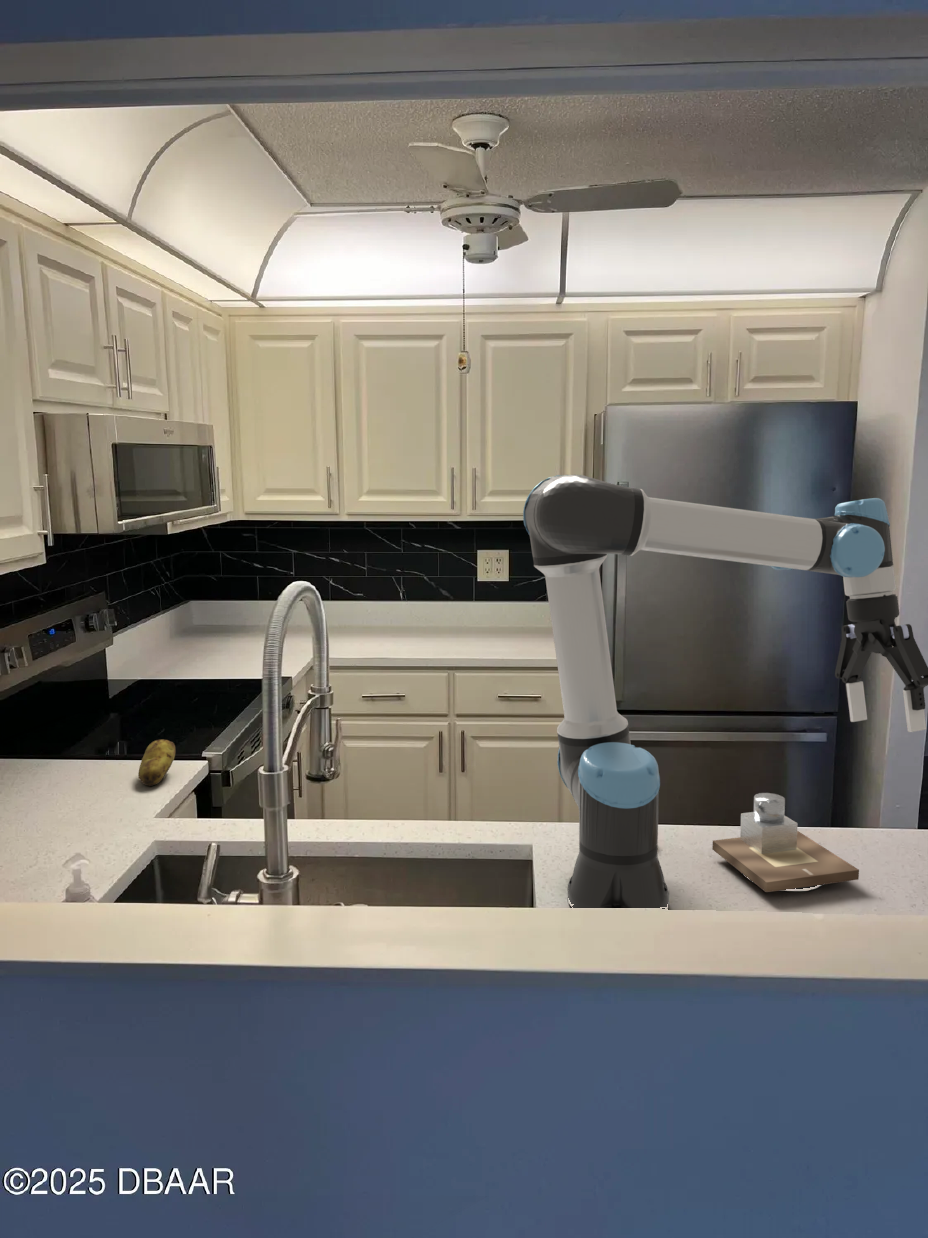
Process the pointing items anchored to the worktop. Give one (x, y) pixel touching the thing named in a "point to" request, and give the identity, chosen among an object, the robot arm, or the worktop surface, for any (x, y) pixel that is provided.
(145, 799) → the worktop surface
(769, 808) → the metal block with knob
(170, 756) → the potato
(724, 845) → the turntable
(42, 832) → the worktop surface
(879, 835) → the worktop surface
